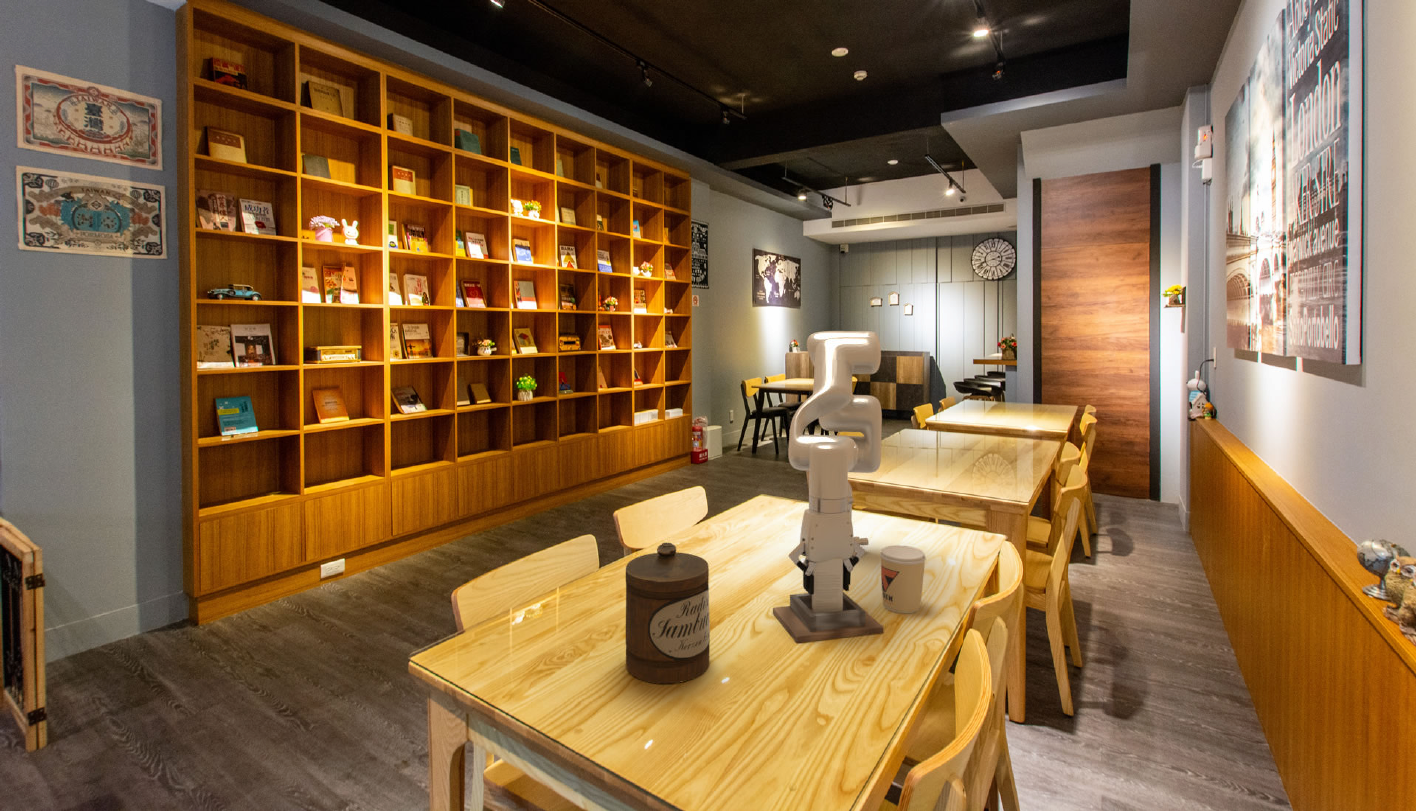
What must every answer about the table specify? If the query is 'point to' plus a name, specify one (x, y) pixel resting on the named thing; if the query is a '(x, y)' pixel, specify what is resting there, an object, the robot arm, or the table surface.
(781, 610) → the sleeve holder
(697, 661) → the wooden container
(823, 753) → the table surface
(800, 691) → the table surface
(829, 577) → the skincare box
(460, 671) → the table surface
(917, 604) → the coffee cup
